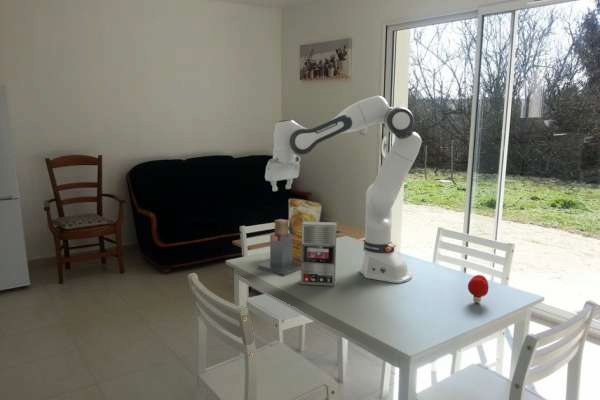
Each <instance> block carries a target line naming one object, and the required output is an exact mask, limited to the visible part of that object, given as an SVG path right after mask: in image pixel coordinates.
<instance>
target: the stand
mask: <svg viewBox="0 0 600 400" xmlns="http://www.w3.org/2000/svg"><path fill="white" fill-rule="evenodd" d="M269 236H270V237H269V238H270V239H269V241H270V245H269V246H270V247H269V249H270V251H269V255H270V257H269V259H270V260H267V261H263V262H261V263H259V264H257V269H260V270H263V271H267V272H270V273H274V274H276V275H277V274H278V275H281V276H284V277H286V276H288V275H291V274H293V273H295V272H298V271H301V262H297V261H294V260H293V257H292V242H293V234H290V233H289V232H288V235H285V236H278V235H275V232H274V233H270V234H269Z"/></svg>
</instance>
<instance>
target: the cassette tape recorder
mask: <svg viewBox="0 0 600 400" xmlns="http://www.w3.org/2000/svg"><path fill="white" fill-rule="evenodd" d="M337 224H338V223H337V222H333V221H332V222H325V221H323V222H322V221H320V222H306V221H303V223H302V260H301V262H300V263H301V270H300V271H301V272H300V273H301V275H300V278H301V279H300V285H308V286H309V285H311V286H312V285H313V286H327V287H328V286H329V287H335V286H336V267H337V265H336V264H337V263H336V262H337V261H336V260H337V259H336V258H337V229H338V226H337Z"/></svg>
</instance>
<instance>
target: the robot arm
mask: <svg viewBox="0 0 600 400" xmlns="http://www.w3.org/2000/svg"><path fill="white" fill-rule="evenodd" d="M375 124H382V125H383V127H384V128H385V129H386V130H387V131H388V132H390V133H391V134H393V135H394V141H393V144H392V145H391V148H390V149H389V151H388V153H387V155H386V157H385V159H384V161H383V162H382V164H381V165H380V168H379V170H378V174H377V175H376V178H375V180H374V182H373V183H371V184H370V185H369V186H368V188H367V190H366V193H365V232H364V234H365V236H364V240H363V258H362V264H361V266H360V270H359V272H360V273H361V274H362V275H363V277H364V279H372V280H376V281H381V282H389V283H394V284H402V283H406V282H408V281H410V280H411V279H412V278H413V273H412V272H410V271H408V264H407V262H406V260H405V259H404V258H402V257H401V256H400V255H399V254H398V253H397V252H396V251H395V248H396V247H397V244H396V243H395V244H393V242H392V226H393V225H392V222H393V221H392V208H393V206H394V204H395V202H396V200H397V198H398V195H399V193H400V191H401V189H402V186H403V184H404V182H405V180H406V177H407V175H408V174H409V173H410V170H411V168H412V167H413V165H414V163H415V161H416V158H417V156H418V154H419V152H420V150H421V149H420V148H421V145H422V143H423V140H422V137H421V136H420V135H419V133H417V132H416V131H415V118H414V114H413V113H412V111H411V110H409V109H408V108H407V107H404V106H395V107H393V106H389V103H388V101H387V100H386V99H385V98H384V97H383V96H381V95H375V96H371V97H367V98H364V99H361V100H358V101H357V102H355V103H353V104H351V105H349V106H347V107H346V108H344V109H343V110H342V111H341V112H339V113H338V114H337V115H336V116H335V117H334V118H332V119H330V120H329V121H327V122H324V123H322V124H320V125H317V126H315V127H312V128H307V127H304V126H302V125H300V124H299V123H297V122H296V121H294V119H283V120H279V121H278V122H276V123H275V126H274V132H273V144H274V145H273V151H272V158H270V159H269V160H268V161H267V164H266V166H265V174H264V179H265V181H266V182H270V185H271V186H272V192H278V191H279V187H278V186H277V184H278V183H277V182H278V181H284V180H286V184H285V189H286V190H290V189H291V188H292V183H293V181H294V179H298V177H299V175H300V162H301V157H300V156H298V155H306V154H309V153H310V152H312V150H313V149H314V148H315V147H316V146H317V145H318V144H320V143H322V142H324V141H326V140H328V139H330V138H333V137H335V136H338V135H342V134H346V133H353V132H357V131H361V130H365V129H366V128H368V127H371V126H372V125H375ZM295 153H296V154H295ZM297 154H298V155H297Z"/></svg>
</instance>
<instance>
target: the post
mask: <svg viewBox="0 0 600 400" xmlns="http://www.w3.org/2000/svg"><path fill="white" fill-rule="evenodd" d="M274 233H275V235H278V236H285V235H288V233H289V219H285V218H284V219H283V218H280V219H279V218H278V219H275V220H274Z"/></svg>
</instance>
